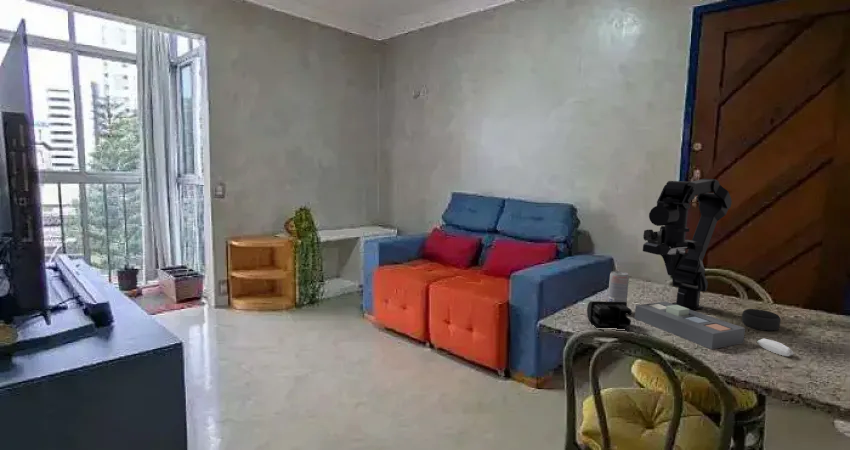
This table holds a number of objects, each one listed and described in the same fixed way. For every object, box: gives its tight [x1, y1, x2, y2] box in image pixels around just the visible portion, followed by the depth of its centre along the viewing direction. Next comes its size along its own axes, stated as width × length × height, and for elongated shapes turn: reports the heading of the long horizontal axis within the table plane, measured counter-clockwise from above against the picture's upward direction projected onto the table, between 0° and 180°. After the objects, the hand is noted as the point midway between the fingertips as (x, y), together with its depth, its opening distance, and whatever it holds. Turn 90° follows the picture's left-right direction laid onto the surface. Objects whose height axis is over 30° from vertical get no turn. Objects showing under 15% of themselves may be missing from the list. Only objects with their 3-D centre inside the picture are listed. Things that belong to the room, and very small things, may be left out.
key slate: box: [685, 317, 709, 324], centre depth 128 cm, size 4×4×2 cm
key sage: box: [666, 305, 689, 316], centre depth 134 cm, size 4×4×2 cm
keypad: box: [634, 301, 746, 350], centre depth 131 cm, size 12×24×4 cm, turn 23°
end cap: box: [586, 300, 633, 331], centre depth 133 cm, size 10×7×7 cm
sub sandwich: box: [757, 338, 795, 357], centre depth 118 cm, size 3×8×3 cm, turn 18°
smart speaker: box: [741, 308, 781, 332], centre depth 136 cm, size 9×9×4 cm
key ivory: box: [649, 304, 666, 310], centre depth 139 cm, size 4×4×2 cm
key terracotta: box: [706, 324, 731, 331], centre depth 123 cm, size 4×4×2 cm
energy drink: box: [607, 270, 630, 303], centre depth 145 cm, size 5×5×12 cm
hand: (670, 275), depth 143 cm, fingers closed
